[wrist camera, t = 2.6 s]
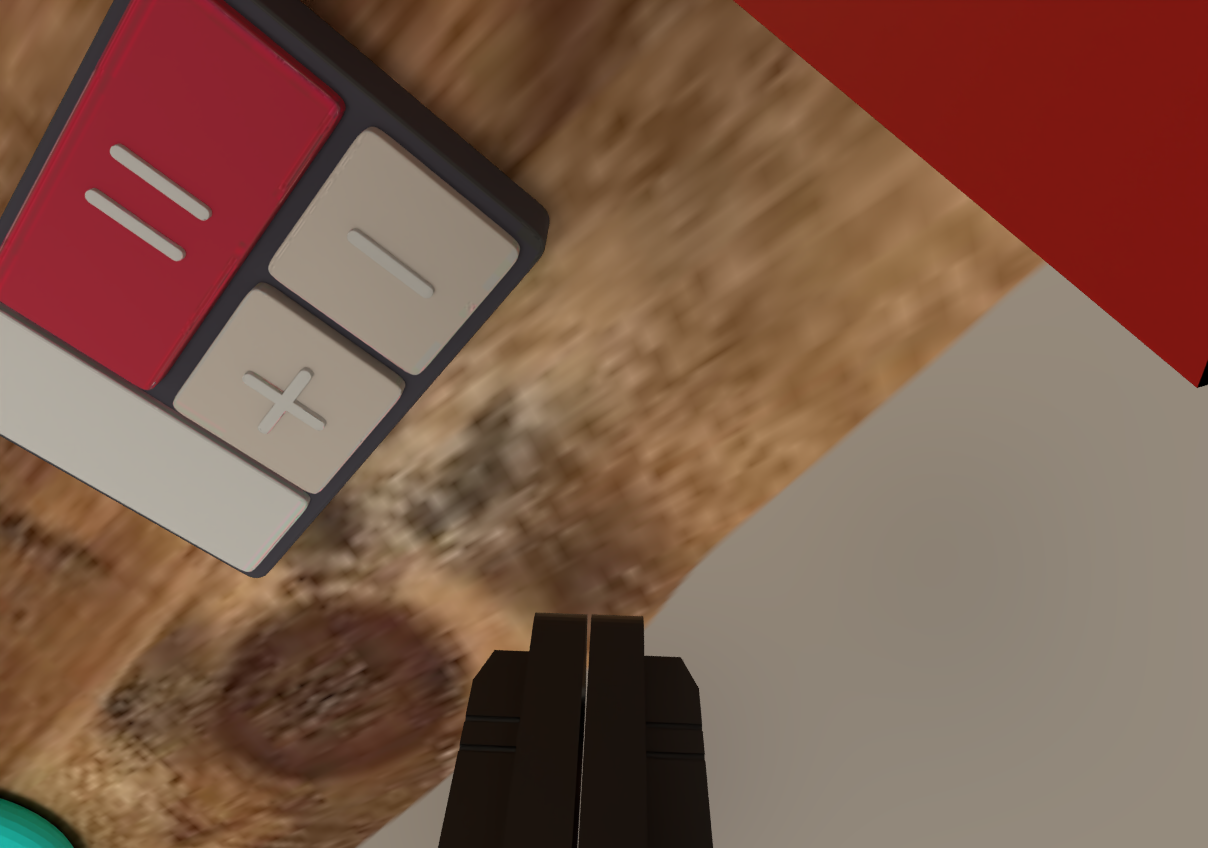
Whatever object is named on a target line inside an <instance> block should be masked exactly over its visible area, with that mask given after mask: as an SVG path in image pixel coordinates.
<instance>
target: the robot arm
mask: <svg viewBox="0 0 1208 848" xmlns="http://www.w3.org/2000/svg"><path fill="white" fill-rule="evenodd" d="M586 656H587V615H586V614H560V613H535V616H534V622H533V629H532V636H531V643H530V651H503V650H494V652H493V653H492V655H491V656H490V657H489V659H488V660H487V661H486V663H485V664H484V666H483V667H482V668H481V670H480V671H479V672H478V674H477V675H476V676H475V678H474V679H473V683H472V687H471V692H470V697H469V702H468V707H467V711H466V720H465V722H464V726H463V731H462V735H461V740H460V749H459V751H458V755H457V759H456V764H455V769H454V774H453V779H452V784H451V788H450V793H449V798H448V803H447V807H446V813H445V818H444V822H443V827H442V832H441V836H440V841H439V846H438V848H577V844H578V828H579V810H580V792H581V775H582V759H583V775H582V792H581V812H580V828H579V845H578V848H713V843H712V831H711V820H710V809H709V798H708V787H707V775H706V764H705V760H704V754H705V753H704V741H703V731H702V719H701V707H700V696H699V688H698V686H697V685H696V683H695V681H694V679H693V678H692V676H691V674H690V672H689V671H688V669H687V667H686V666H685V664H684V662H683V660H682V659H681V658H680V657H661V656H644V621H643V616H618V615H592V617H591V633H590V651H589V669H588V687H587V706H586V722H585V740H584V721H585V697H586ZM583 741H584V757H583Z"/></svg>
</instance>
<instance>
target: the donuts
mask: <svg viewBox="0 0 1208 848" xmlns="http://www.w3.org/2000/svg"><path fill="white" fill-rule="evenodd" d="M0 848H74V847H73V846H72V844H71V843H70V842H69V840H68V839H67V838H66V837H65V836H64V834H63V833H62V832H60V831H59V830H58V829H57V828H56V827H55V826H54V825H52V824H51V823H50V822H48V821H47V820H46V819H44V818H42V817H41V816H39V815H38V814H36V813H34V812H32V811H30V810H28V809H26V808H24V807H22V806H20V805H18V804H15V803H13V802H10V801H7V800H4V799H0Z"/></svg>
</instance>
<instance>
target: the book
mask: <svg viewBox="0 0 1208 848" xmlns="http://www.w3.org/2000/svg"><path fill="white" fill-rule="evenodd" d="M733 1H735V2H736V3H737V4H738V5H739V6H741V7H742V8H743V9H744V10H745V11H747V12H748V13H749V14H750V15H751V16H753V17H754V18H755V19H756V20H757V21H759V22H760V23H761V24H762V25H763V26H765V27H766V28H767V29H768V30H769V31H771V32H772V33H773V34H774V35H775V36H777V37H778V38H779V39H780V40H781V41H782V42H784V43H785V44H786V45H787V46H788V47H790V48H791V49H792V50H793V51H794V52H796V53H797V54H798V55H799V56H800V57H802V58H803V59H804V60H805V61H806V62H808V63H809V64H810V65H811V66H812V67H814V68H815V69H816V70H817V71H818V72H820V73H821V74H822V75H823V76H824V77H826V78H827V79H828V80H829V81H830V82H832V83H833V84H834V85H835V86H836V87H838V88H839V89H840V90H841V91H842V92H844V93H845V94H846V95H847V96H848V97H849V98H851V99H852V100H853V101H854V102H855V103H857V104H858V105H859V106H860V107H861V108H863V109H864V110H865V111H866V112H867V113H869V114H870V115H871V116H872V117H873V118H875V119H876V120H877V121H878V122H879V123H881V124H882V125H883V126H884V127H885V128H887V129H888V130H889V131H890V132H891V133H893V134H894V135H895V136H896V137H897V138H899V139H900V140H901V141H902V142H903V143H905V144H906V145H907V146H908V147H909V148H911V149H912V150H913V151H914V152H915V153H917V154H918V155H919V156H920V157H921V158H922V159H924V160H925V161H926V162H927V163H928V164H930V165H931V166H932V167H933V168H934V169H936V170H937V171H938V172H939V173H940V174H942V175H943V176H944V177H945V178H946V179H948V180H949V181H950V182H951V183H952V184H954V185H955V186H956V187H957V188H958V189H960V190H961V191H962V192H963V193H964V194H966V195H967V196H968V197H969V198H970V199H972V200H973V201H974V202H975V203H976V204H978V205H979V206H980V207H981V208H982V209H984V210H985V211H986V212H987V213H988V214H989V215H991V216H992V217H993V218H994V219H995V220H997V221H998V222H999V223H1000V224H1001V225H1003V226H1004V227H1005V228H1006V229H1007V230H1009V231H1010V232H1011V233H1012V234H1013V235H1015V236H1016V237H1017V238H1018V239H1019V240H1021V241H1022V242H1023V243H1024V244H1025V245H1027V246H1028V247H1029V248H1030V249H1031V250H1033V251H1034V252H1035V253H1036V254H1037V255H1039V256H1040V257H1041V258H1042V259H1043V260H1045V261H1046V262H1047V263H1048V264H1049V265H1051V266H1052V267H1053V268H1054V269H1055V270H1056V271H1058V272H1059V273H1060V274H1061V275H1063V276H1064V277H1065V278H1066V279H1067V280H1069V281H1070V282H1071V283H1072V284H1073V285H1075V286H1076V287H1077V288H1078V289H1079V290H1080V291H1082V292H1083V293H1084V294H1085V295H1087V296H1088V297H1089V298H1090V299H1091V300H1092V301H1094V302H1095V303H1096V304H1097V305H1098V306H1100V307H1101V308H1102V309H1103V310H1104V311H1106V312H1107V313H1108V314H1109V315H1110V316H1112V317H1113V318H1114V319H1115V320H1117V321H1118V322H1119V323H1120V324H1121V325H1122V326H1124V327H1125V328H1126V329H1127V330H1128V331H1130V332H1131V333H1132V334H1133V335H1134V336H1136V337H1137V338H1138V339H1139V340H1140V341H1142V342H1143V343H1144V344H1145V345H1146V346H1147V347H1149V348H1150V349H1151V350H1152V351H1153V352H1155V353H1156V354H1157V355H1158V356H1159V357H1161V358H1162V359H1163V360H1164V361H1165V362H1167V363H1168V364H1169V365H1170V366H1172V367H1173V368H1174V369H1175V370H1176V371H1177V372H1179V373H1180V374H1181V375H1182V376H1183V377H1185V378H1186V379H1187V380H1188V381H1189V382H1191V383H1192V384H1193V385H1194V386H1195V387H1197V388H1198V387H1202V386H1205V385H1208V0H733Z"/></svg>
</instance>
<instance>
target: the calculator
mask: <svg viewBox="0 0 1208 848" xmlns="http://www.w3.org/2000/svg"><path fill="white" fill-rule="evenodd" d="M548 227H549V215H548V213H547V211H546V210H545V209H544V207H543V206H541V205H540V204H539V203H538V202H537V201H536V200H535V199H533V198H532V197H531V196H530V195H529V194H528V193H526V192H525V191H524V190H523V189H522V188H520V187H519V186H518V185H517V184H516V183H515V182H513V181H512V180H511V179H510V178H509V177H507V176H506V175H505V174H504V173H503V172H502V171H500V170H499V169H498V168H497V167H496V166H495V165H493V164H492V163H491V162H490V161H489V160H487V159H486V158H485V157H484V156H483V155H482V154H480V153H479V152H478V151H477V150H476V149H474V148H473V147H472V146H471V145H470V144H469V143H467V142H466V141H465V140H464V139H463V138H461V137H460V136H459V135H458V134H457V133H456V132H454V131H453V130H452V129H451V128H450V127H448V126H447V125H446V124H445V123H444V122H443V121H441V120H440V119H439V118H438V117H437V116H435V115H434V114H433V113H432V112H431V111H430V110H428V109H427V108H426V107H425V106H424V105H423V104H421V103H420V102H419V101H418V100H417V99H415V98H414V97H413V96H412V95H411V94H410V93H408V92H407V91H406V90H405V89H404V88H402V87H401V86H400V85H399V84H398V83H397V82H395V81H394V80H393V79H392V78H391V77H389V76H388V75H387V74H386V73H385V72H384V71H382V70H381V69H380V68H379V67H378V66H376V65H375V64H374V63H373V62H372V61H371V60H369V59H368V58H367V57H366V56H365V55H363V54H362V53H361V52H360V51H359V50H358V49H356V48H355V47H354V46H353V45H352V44H351V43H349V42H348V41H347V40H346V39H345V38H343V37H342V36H341V35H340V34H339V33H338V32H336V31H335V30H334V29H333V28H332V27H330V26H329V25H328V24H327V23H326V22H325V21H323V20H322V19H321V18H320V17H319V16H317V15H316V14H315V13H314V12H313V11H312V10H310V9H309V8H308V7H307V6H306V5H304V4H303V3H302V2H301V1H300V0H114V1H113V3H112V5H111V7H110V9H109V11H108V13H107V15H106V16H105V18H104V20H103V22H102V24H101V26H100V28H99V30H98V32H97V34H96V36H95V38H94V40H93V41H92V43H91V45H90V47H89V49H88V51H87V53H86V55H85V57H84V59H83V61H82V63H81V65H80V66H79V68H78V70H77V72H76V74H75V76H74V78H73V80H72V82H71V84H70V86H69V88H68V90H67V91H66V93H65V95H64V97H63V99H62V101H61V103H60V105H59V107H58V109H57V111H56V113H55V115H54V116H53V118H52V120H51V122H50V124H49V126H48V128H47V130H46V132H45V134H44V136H43V138H42V140H41V141H40V143H39V145H38V147H37V149H36V151H35V153H34V155H33V157H32V159H31V161H30V163H29V165H28V166H27V168H26V170H25V172H24V174H23V176H22V178H21V180H20V182H19V184H18V186H17V188H16V190H15V191H14V193H13V195H12V197H11V199H10V201H9V203H8V205H7V207H6V209H5V211H4V213H3V214H2V216H1V218H0V436H2V437H3V438H5V439H7V440H9V441H10V442H12V443H14V444H16V445H18V446H19V447H21V448H23V449H25V450H26V451H28V452H30V453H32V454H33V455H35V456H37V457H39V458H40V459H42V460H44V461H46V462H47V463H49V464H51V465H53V466H55V467H56V468H58V469H60V470H62V471H63V472H65V473H67V474H69V475H70V476H72V477H74V478H76V479H77V480H79V481H81V482H83V483H85V484H86V485H88V486H90V487H92V488H93V489H95V490H97V491H99V492H100V493H102V494H104V495H106V496H107V497H109V498H111V499H113V500H115V501H116V502H118V503H120V504H122V505H123V506H125V507H127V508H129V509H130V510H132V511H134V512H136V513H137V514H139V515H141V516H143V517H145V518H146V519H148V520H150V521H152V522H153V523H155V524H157V525H159V526H160V527H162V528H164V529H166V530H167V531H169V532H171V533H173V534H174V535H176V536H178V537H180V538H182V539H183V540H185V541H187V542H189V543H190V544H192V545H194V546H196V547H197V548H199V549H201V550H203V551H204V552H206V553H208V554H210V555H212V556H213V557H215V558H217V559H219V560H220V561H222V562H224V563H226V564H227V565H229V566H231V567H233V568H234V569H236V570H238V571H240V572H242V573H244V574H245V575H247V576H250V577H253V578H260V577H263V576H265V575H266V574H267V573H268V572H269V571H270V570H271V569H272V568H273V567H274V566H275V565H276V563H277V562H278V561H279V560H280V559H281V558H282V556H283V555H284V554H285V553H286V552H287V551H288V549H289V548H290V547H291V546H292V545H293V544H294V543H295V541H296V540H297V539H298V538H299V537H300V536H301V534H302V533H303V532H304V531H305V530H306V529H307V527H308V526H309V525H310V524H311V523H312V522H313V521H314V519H315V518H316V517H317V516H318V515H319V514H320V512H321V511H322V510H323V509H324V508H325V507H326V505H327V504H328V503H329V502H330V501H331V500H332V499H333V497H334V496H335V495H336V494H337V493H338V492H339V490H340V489H341V488H342V487H343V486H344V485H345V483H346V482H347V481H348V480H349V479H350V478H351V477H352V475H353V474H354V473H355V472H356V471H357V470H358V468H359V467H360V466H361V465H362V464H363V463H364V462H365V460H366V459H367V458H368V457H369V456H370V455H371V453H372V452H373V451H374V450H375V449H376V448H377V446H378V445H379V444H380V443H381V442H382V441H383V440H384V438H385V437H386V436H387V435H388V434H389V433H390V431H391V430H392V429H393V428H394V427H395V426H396V424H397V423H398V422H399V421H400V420H401V419H402V418H403V416H404V415H405V414H406V413H407V412H408V411H409V409H410V408H411V407H412V406H413V405H414V404H415V402H416V401H417V400H418V399H419V398H420V397H421V396H422V394H423V393H424V392H425V391H426V390H427V389H428V387H429V386H430V385H431V384H432V383H433V382H434V380H435V379H436V378H437V377H438V376H439V375H440V374H441V372H442V371H443V370H444V369H445V368H446V367H447V365H448V364H449V363H450V362H451V361H452V360H453V359H454V357H455V356H456V355H457V354H458V353H459V352H460V350H461V349H462V348H463V347H464V346H465V345H466V343H467V342H468V341H469V340H470V339H471V338H472V337H473V335H474V334H475V333H476V332H477V331H478V330H479V328H480V327H481V326H482V325H483V324H484V323H485V321H486V320H487V319H488V318H489V317H490V316H491V315H492V313H493V312H494V311H495V310H496V309H497V308H498V306H499V305H500V304H501V303H502V302H503V301H504V299H505V298H506V297H507V296H508V295H509V294H510V293H511V291H512V290H513V289H514V288H515V287H516V286H517V284H518V283H519V282H520V281H521V280H522V279H523V277H524V276H525V275H526V274H527V273H528V272H529V271H530V269H531V268H532V267H533V266H534V265H535V263H536V262H537V261H538V260H539V259H540V257H541V256H542V254H543V252H544V249H545V244H546V239H547V233H548Z"/></svg>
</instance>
